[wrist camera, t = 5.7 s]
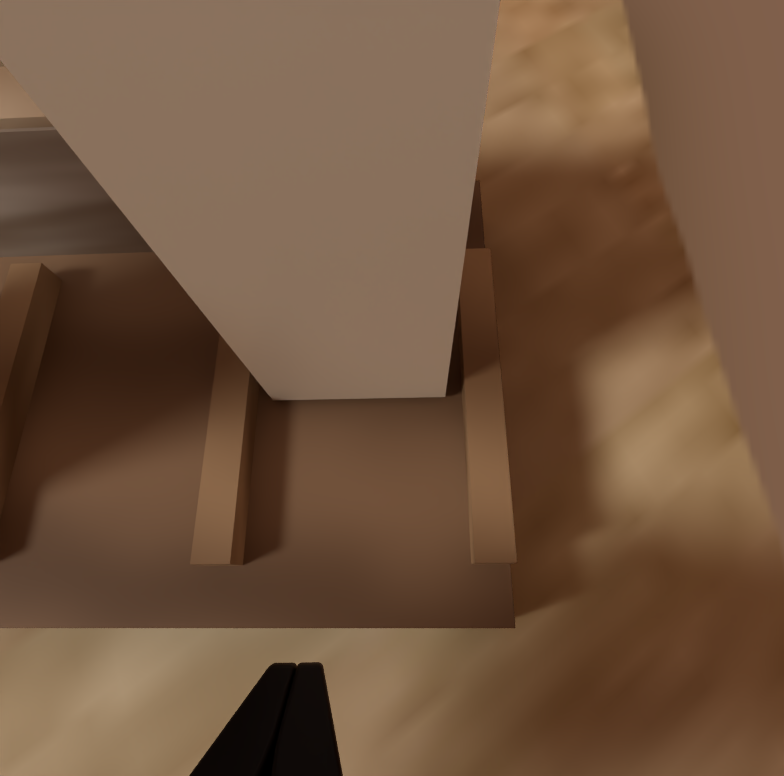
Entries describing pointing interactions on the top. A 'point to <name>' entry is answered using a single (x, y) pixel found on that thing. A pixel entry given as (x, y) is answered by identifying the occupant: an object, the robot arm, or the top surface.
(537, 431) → the top surface
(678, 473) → the top surface
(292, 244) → the orange-topped pillar
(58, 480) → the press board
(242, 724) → the robot arm
